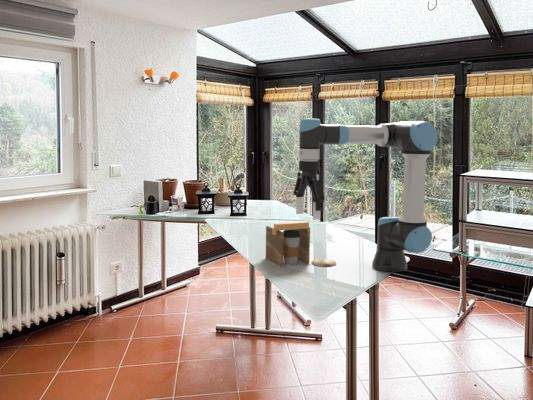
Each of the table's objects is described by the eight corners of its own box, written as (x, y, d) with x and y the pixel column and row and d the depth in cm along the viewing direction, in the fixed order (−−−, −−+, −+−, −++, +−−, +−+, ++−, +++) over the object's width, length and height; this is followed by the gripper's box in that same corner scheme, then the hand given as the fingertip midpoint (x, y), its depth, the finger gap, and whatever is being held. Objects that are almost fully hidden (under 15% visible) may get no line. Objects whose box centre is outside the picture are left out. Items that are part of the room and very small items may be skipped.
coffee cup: (277, 262, 232) (278, 230, 230) (290, 260, 238) (291, 228, 236) (290, 266, 226) (291, 233, 224) (303, 263, 232) (304, 231, 230)
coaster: (328, 259, 239) (328, 258, 239) (340, 265, 229) (340, 264, 229) (307, 261, 235) (307, 260, 235) (319, 267, 225) (319, 266, 225)
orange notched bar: (307, 231, 235) (307, 221, 234) (310, 232, 232) (310, 222, 232) (272, 233, 228) (272, 223, 227) (274, 235, 225) (275, 224, 225)
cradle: (292, 255, 246) (293, 224, 244) (309, 264, 231) (310, 230, 229) (265, 258, 240) (266, 226, 238) (280, 267, 225) (281, 232, 223)
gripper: (285, 158, 198) (284, 212, 201) (316, 162, 175) (315, 222, 178) (302, 158, 201) (301, 211, 204) (335, 162, 178) (333, 221, 181)
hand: (307, 216), depth 191 cm, fingers open, 13 cm apart
